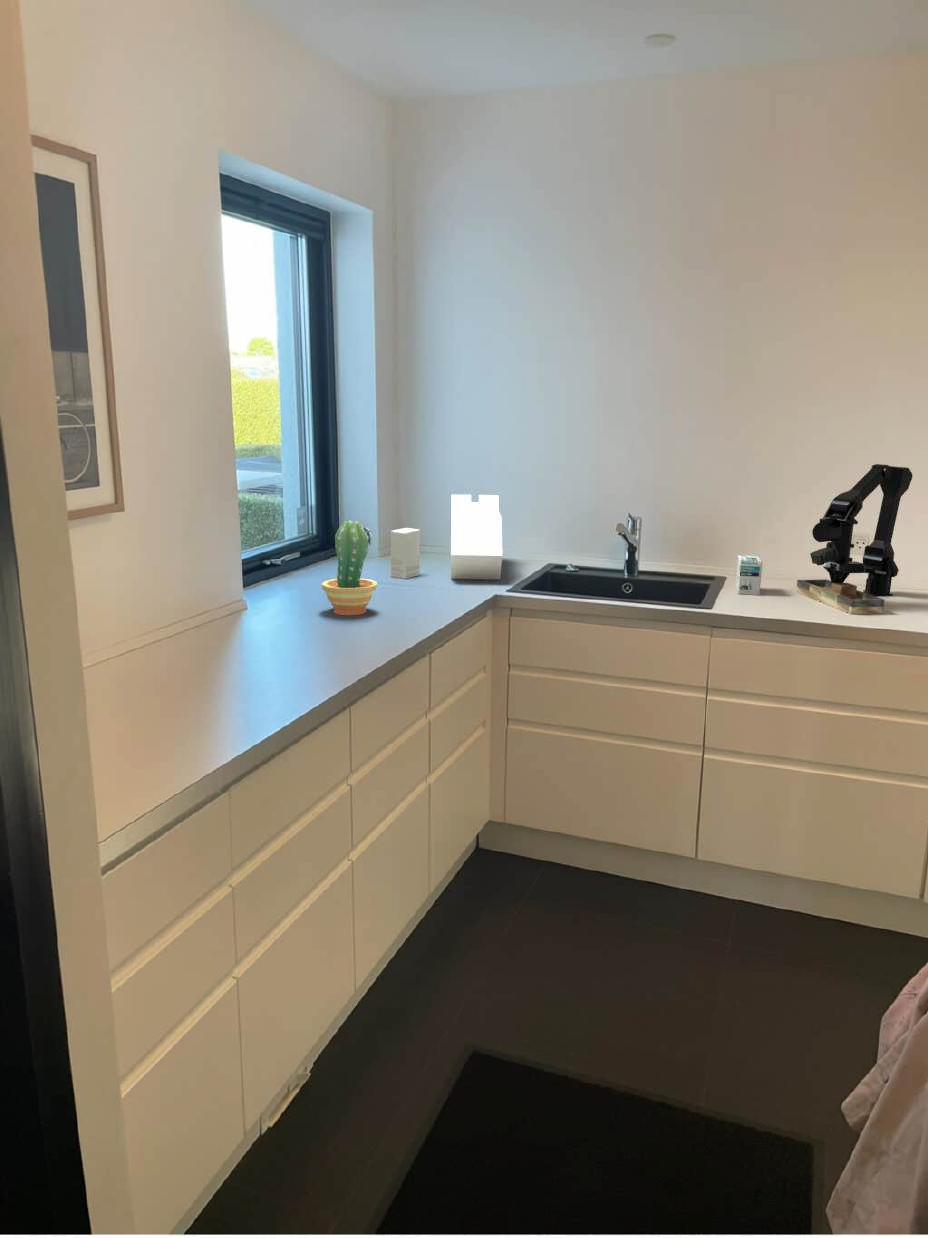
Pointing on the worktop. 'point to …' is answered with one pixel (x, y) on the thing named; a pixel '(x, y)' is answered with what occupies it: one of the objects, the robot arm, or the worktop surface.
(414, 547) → the skincare box
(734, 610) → the worktop surface
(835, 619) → the worktop surface
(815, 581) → the box
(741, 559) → the light bulb box
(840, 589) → the walnut block
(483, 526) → the storage box
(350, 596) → the potted cactus
